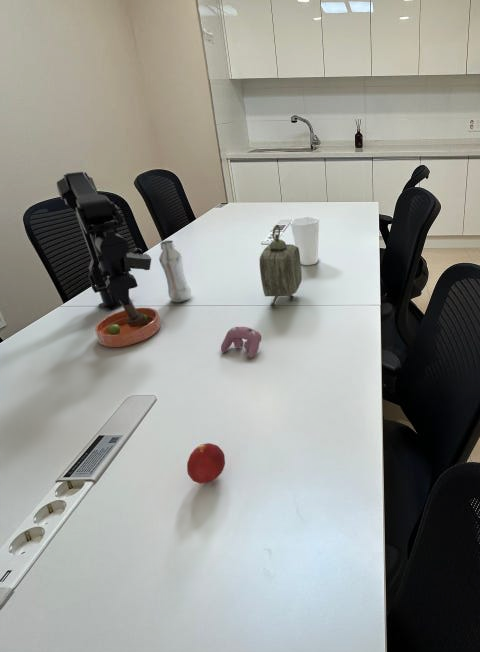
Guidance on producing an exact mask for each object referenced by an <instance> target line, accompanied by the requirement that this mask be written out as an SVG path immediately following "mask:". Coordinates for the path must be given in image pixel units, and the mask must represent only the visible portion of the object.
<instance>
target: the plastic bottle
mask: <svg viewBox="0 0 480 652" xmlns="http://www.w3.org/2000/svg"><path fill="white" fill-rule="evenodd" d="M159 244H160V249H161V250H162V251H161V253H160V254H159V257H158V259H159V264H160V266H161V268H162V270H163V273H164V276H165V279H166V284H167V294H168V297H169V300H170V301H172V302H174V303H182V302H185V301H187V300H189V299H190V298H191V296H192V292H191V288H190V285H189V284H188V281H187V278H186V276H185V269H184V262H183V255H182V254H181V253H180V251H178V250H177V249H176V245H175V242H174V240H164V241H161V242H160V243H159Z"/></svg>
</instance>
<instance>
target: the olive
mask: <svg viewBox="0 0 480 652" xmlns="http://www.w3.org/2000/svg"><path fill="white" fill-rule="evenodd" d="M120 331H121V328H120V326H119V325H117V324H113V325H111V326H109V328H108V332H109V334H111V335H117V334H119V333H120Z"/></svg>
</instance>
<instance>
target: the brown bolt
mask: <svg viewBox="0 0 480 652" xmlns="http://www.w3.org/2000/svg"><path fill="white" fill-rule="evenodd" d="M119 301H120V300H119ZM120 303H121V304H122V305H121V306H122V308H123V311H124V310H125V311H126V313H127V315H128V318H127V319H126V322H127V323H128V325H129V327H132V328H133V327H137V326H140V325H142V324H143V323H144V322H145V321H146V318H145V316H144V314H143V313H142V312H137V310H136V308H137V307H136V306H135V304H134V303H133V301H132V300H131V298H130V297H129V305H124V304H123V303H122V302H121V301H120Z"/></svg>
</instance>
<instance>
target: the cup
mask: <svg viewBox="0 0 480 652" xmlns="http://www.w3.org/2000/svg"><path fill="white" fill-rule="evenodd" d="M289 224H290V229H291V233H292V237H293V242H294V245H295V246H296V247H298V248H299V253H300V262H301V265H303V266H311V265H316V264H317V263H318V260H319V231H320V229H319V228H320V227H319V226H320V219H319V218H318V217H313V216H302V217H297V218H293V219H292V220H291V221H290V222H289Z"/></svg>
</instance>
